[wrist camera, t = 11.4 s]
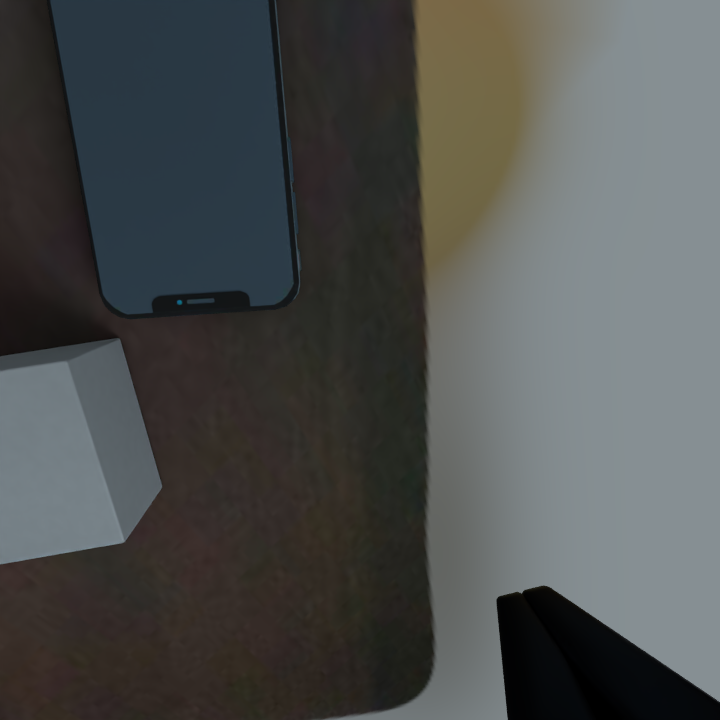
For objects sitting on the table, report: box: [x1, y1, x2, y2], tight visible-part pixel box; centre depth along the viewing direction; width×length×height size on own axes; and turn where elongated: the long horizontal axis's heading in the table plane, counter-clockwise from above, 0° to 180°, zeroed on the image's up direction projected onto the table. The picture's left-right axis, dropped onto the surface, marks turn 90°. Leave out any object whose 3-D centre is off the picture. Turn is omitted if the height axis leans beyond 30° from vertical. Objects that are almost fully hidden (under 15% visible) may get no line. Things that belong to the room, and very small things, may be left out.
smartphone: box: [47, 0, 302, 319], centre depth 16 cm, size 8×2×15 cm
